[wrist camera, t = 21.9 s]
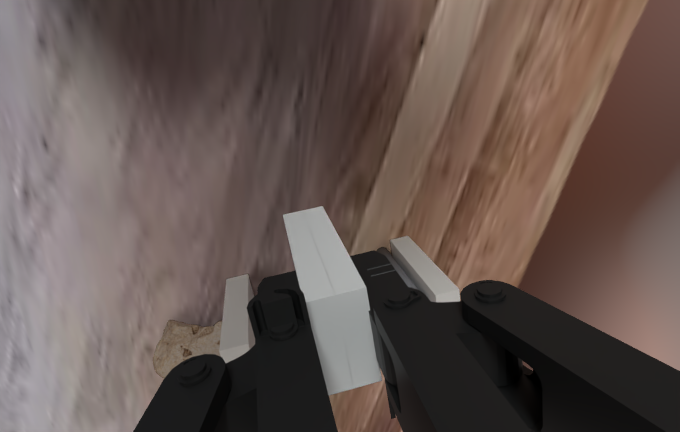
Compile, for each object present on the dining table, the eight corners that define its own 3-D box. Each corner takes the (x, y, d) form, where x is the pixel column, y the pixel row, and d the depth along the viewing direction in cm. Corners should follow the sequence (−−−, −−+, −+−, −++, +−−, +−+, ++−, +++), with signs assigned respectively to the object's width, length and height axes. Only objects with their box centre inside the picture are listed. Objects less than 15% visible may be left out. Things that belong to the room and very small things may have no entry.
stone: (229, 387, 55) (221, 418, 51) (151, 336, 52) (136, 364, 47) (276, 341, 53) (273, 369, 49) (199, 286, 50) (188, 309, 46)
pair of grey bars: (226, 278, 51) (219, 351, 38) (407, 235, 54) (459, 289, 41) (232, 301, 52) (228, 379, 39) (410, 257, 55) (461, 316, 42)
